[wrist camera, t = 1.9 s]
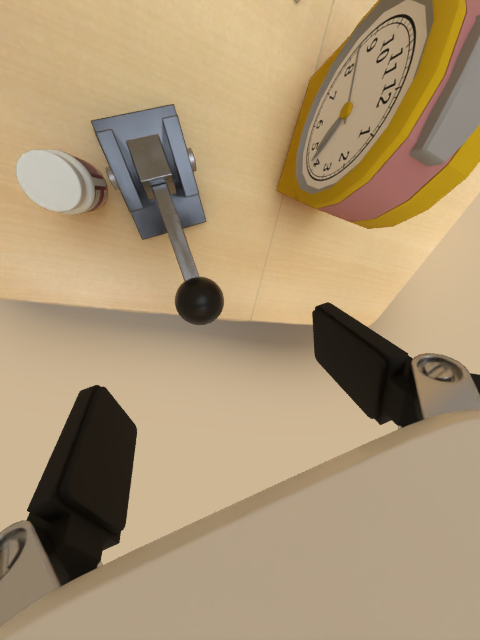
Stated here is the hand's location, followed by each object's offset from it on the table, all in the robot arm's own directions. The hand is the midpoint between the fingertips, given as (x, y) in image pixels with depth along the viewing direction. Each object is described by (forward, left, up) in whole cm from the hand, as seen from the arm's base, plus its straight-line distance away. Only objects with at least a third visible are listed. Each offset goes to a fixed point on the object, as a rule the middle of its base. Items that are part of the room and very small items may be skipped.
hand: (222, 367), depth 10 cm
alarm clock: (+20, +8, -24) cm, 32 cm away
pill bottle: (-8, +10, -24) cm, 27 cm away
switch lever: (0, +3, -12) cm, 12 cm away
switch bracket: (0, +9, -24) cm, 25 cm away
